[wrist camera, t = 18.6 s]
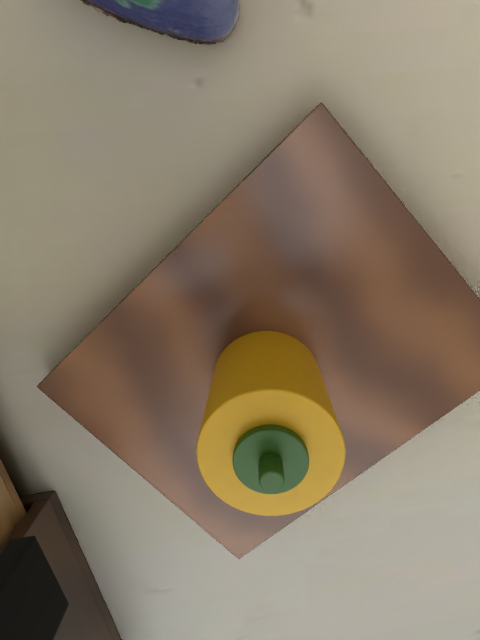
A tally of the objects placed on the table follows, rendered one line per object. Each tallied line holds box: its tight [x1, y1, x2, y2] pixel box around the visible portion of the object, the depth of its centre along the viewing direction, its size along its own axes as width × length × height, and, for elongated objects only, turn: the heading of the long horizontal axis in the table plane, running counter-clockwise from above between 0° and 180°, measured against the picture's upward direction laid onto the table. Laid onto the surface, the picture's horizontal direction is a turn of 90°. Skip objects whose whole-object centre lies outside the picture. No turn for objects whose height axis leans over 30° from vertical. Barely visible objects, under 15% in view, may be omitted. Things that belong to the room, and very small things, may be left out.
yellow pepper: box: [196, 331, 346, 516], centre depth 17 cm, size 6×6×8 cm
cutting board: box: [37, 103, 480, 559], centre depth 22 cm, size 20×16×2 cm
